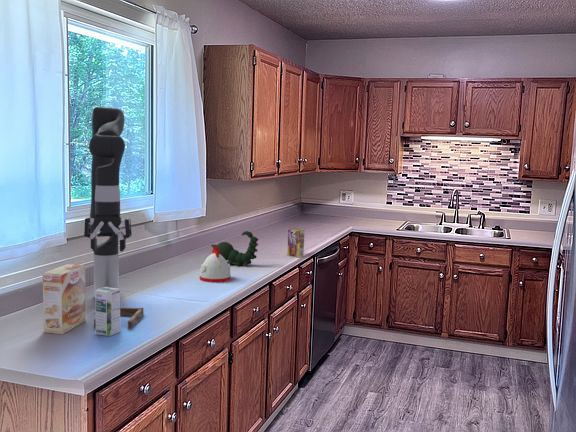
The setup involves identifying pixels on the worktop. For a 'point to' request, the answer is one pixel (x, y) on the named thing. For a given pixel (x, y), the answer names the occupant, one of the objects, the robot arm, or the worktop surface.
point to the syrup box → (107, 311)
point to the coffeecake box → (64, 298)
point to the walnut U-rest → (134, 312)
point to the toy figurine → (234, 255)
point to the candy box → (296, 242)
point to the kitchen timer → (215, 268)
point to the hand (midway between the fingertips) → (108, 250)
